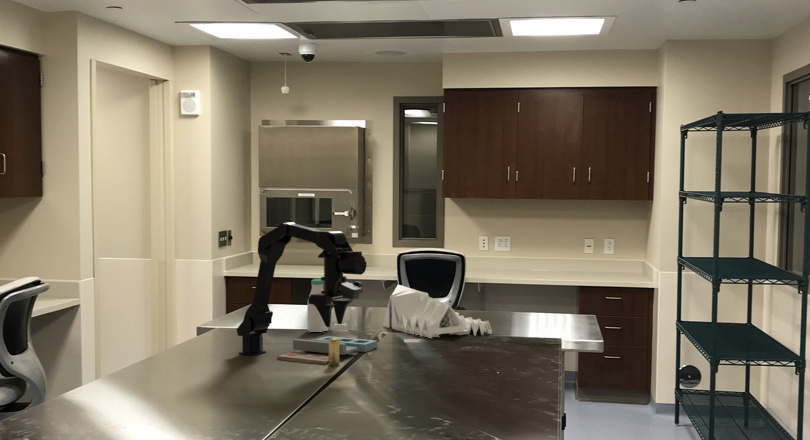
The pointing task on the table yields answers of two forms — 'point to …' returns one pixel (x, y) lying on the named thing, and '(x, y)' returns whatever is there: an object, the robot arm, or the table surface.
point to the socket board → (354, 343)
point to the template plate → (305, 357)
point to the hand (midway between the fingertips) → (333, 325)
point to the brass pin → (334, 352)
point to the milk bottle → (315, 310)
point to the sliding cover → (320, 346)
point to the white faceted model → (427, 315)
